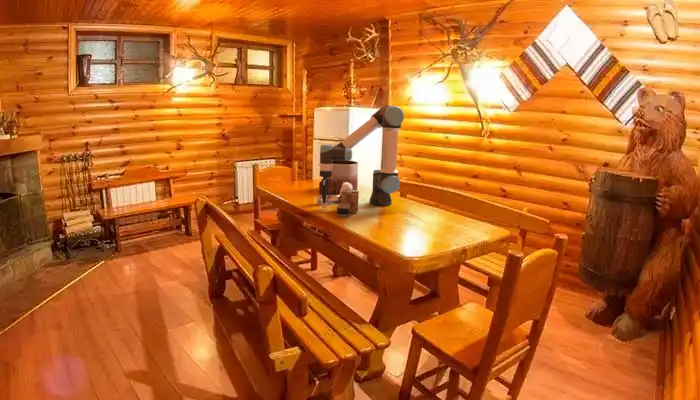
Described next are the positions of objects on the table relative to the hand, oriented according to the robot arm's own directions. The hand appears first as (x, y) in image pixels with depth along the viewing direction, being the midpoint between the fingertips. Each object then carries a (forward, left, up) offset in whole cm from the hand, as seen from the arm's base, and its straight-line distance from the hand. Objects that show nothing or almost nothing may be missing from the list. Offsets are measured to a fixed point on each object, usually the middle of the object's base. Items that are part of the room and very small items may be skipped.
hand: (324, 206), depth 270 cm
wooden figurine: (-6, -18, -2) cm, 19 cm away
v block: (-8, +15, -2) cm, 17 cm away
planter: (-24, -58, -2) cm, 63 cm away
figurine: (-21, -28, -2) cm, 35 cm away
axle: (-4, +2, +2) cm, 5 cm away
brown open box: (-14, +5, -2) cm, 15 cm away
